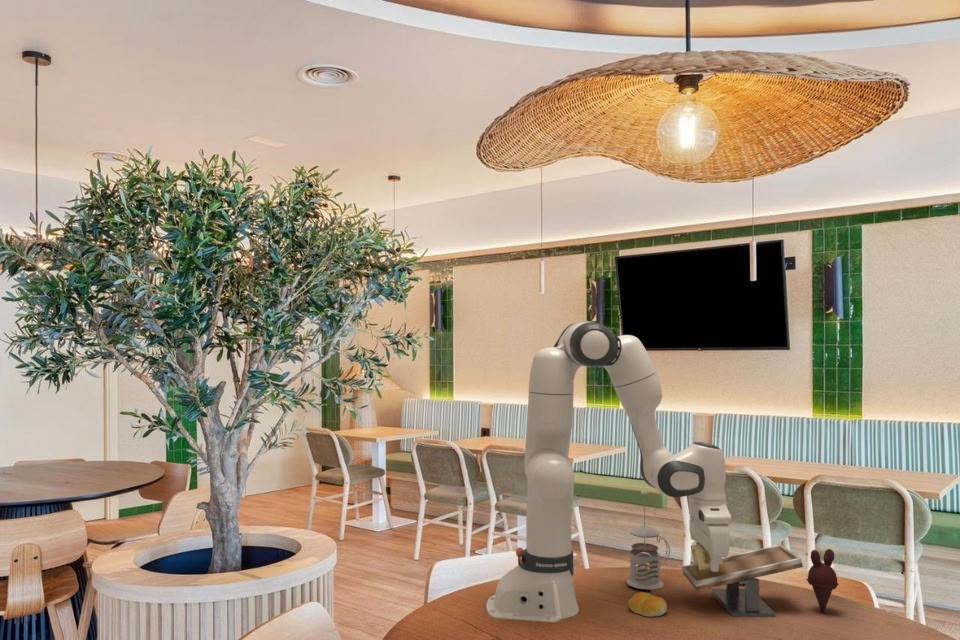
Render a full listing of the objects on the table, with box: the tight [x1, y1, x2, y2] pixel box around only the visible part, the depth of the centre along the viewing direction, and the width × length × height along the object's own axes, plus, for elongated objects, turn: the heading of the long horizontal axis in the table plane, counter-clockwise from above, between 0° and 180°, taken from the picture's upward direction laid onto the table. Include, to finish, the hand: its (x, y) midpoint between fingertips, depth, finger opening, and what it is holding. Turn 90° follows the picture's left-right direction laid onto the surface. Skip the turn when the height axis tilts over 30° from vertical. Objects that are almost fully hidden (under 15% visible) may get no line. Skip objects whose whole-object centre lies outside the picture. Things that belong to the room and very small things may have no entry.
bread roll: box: [628, 591, 668, 618], centre depth 169 cm, size 8×9×4 cm
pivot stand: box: [711, 577, 777, 618], centre depth 174 cm, size 10×16×9 cm, turn 179°
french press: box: [626, 489, 671, 590], centre depth 190 cm, size 10×12×25 cm
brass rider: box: [690, 544, 726, 579], centre depth 174 cm, size 6×4×7 cm, turn 89°
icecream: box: [806, 548, 839, 613], centre depth 169 cm, size 7×7×15 cm
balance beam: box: [681, 543, 804, 592], centre depth 174 cm, size 26×12×3 cm, turn 89°
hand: (707, 564), depth 174 cm, fingers open, 8 cm apart
